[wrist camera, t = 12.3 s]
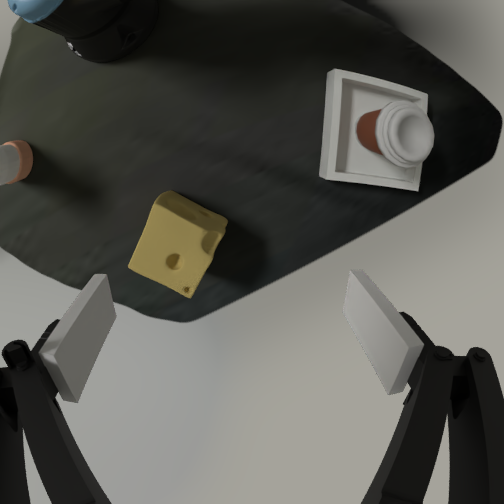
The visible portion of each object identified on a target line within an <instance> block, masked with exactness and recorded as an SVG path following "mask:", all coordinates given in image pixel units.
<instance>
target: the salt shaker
mask: <svg viewBox="0 0 504 504" xmlns="http://www.w3.org/2000/svg"><path fill="white" fill-rule="evenodd" d="M32 165H33V154H32V150H31V148H30V146H29V144H28V143H27V142H25V141H23V140H17V141H11V142H6V143H5V144H3V145H0V185H3V184H5V183H6V184H11V183H14V182H17V181H19V180H22V179H24V178H26V177H27V176H28V175H29V173H30V171H31V169H32Z"/></svg>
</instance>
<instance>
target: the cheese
mask: <svg viewBox="0 0 504 504" xmlns="http://www.w3.org/2000/svg"><path fill="white" fill-rule="evenodd" d="M227 223H228V220H227V219H226V218H225V217H223V216H221V215H219V214H216V213H214V212H212V211H209V210H207V209H205V208H203V207H202V206H200V205H198V204H196V203H194V202H192V201H190V200H189V199H187V198H185V197H183V196H181V195H179V194H178V193H176V192H174V191H172V190H171V191H167V192H164V193H162V194H161V195H159V196H158V198H157V199H156V201H155V202H154V204H153V207H152V209H151V212H150V215H149V218H148V221H147V223H146V226H145V229H144V231H143V233H142V236H141V238H140V240H139V242H138V245H137V247H136V249H135V252H134V254H133V256H132V259H131V261H130V263H129V265H128V267H129V268H130V269H132V270H133V271H135V272H137V273H139V274H141V275H143V276H145V277H148V278H150V279H152V280H154V281H157V282H159V283H161V284H163V285H165V286H167V287H169V288H171V289H173V290H175V291H177V292H179V293H180V294H182V295H184V296H186V297H188V298H191V297H192V295H193V294H194V292H195V290H196V288H197V286H198V284H199V282H200V280H201V279H202V277H203V275H204V273H205V272H206V270H207V268H208V267H209V265H210V263H211V262H212V260H213V257H214V252H215V249H216V247H217V245H218V244H219V242H220V240H221V239H222V237H223V236H224V234H225V227H226V225H227Z"/></svg>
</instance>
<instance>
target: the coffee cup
mask: <svg viewBox="0 0 504 504" xmlns="http://www.w3.org/2000/svg"><path fill="white" fill-rule="evenodd" d="M355 135H356V139H357V141H358V142H359V144H360V145H361V146H362V147H364V148H365V149H367V150H370V151H372V152H375V153H378V154H380V155H383V156H384V157H385V159H387V160H388V161H390V162H391V163H392V164H394V165H395V166H399V167H404V168H411V167H414V166H418V165H419V164H420V163H422V162H423V161H424V160H425V159H426V158H427V156H428V155H429V154H430V152H431V149H432V147H433V144H434V131H433V126H432V124H431V122H430V120H429V118H428V116H427V115H426V114H425V112H424V111H423V110H422V109H421V108H420V107H419V106H417V105H416V104H415V103H412V102H409V101H406V100H399V101H393V102H390V103H389V104H387V105H386V106H385V107H383V108H382V109H379V110H376V111H372V112H367V113H364V114H362V115H361V116H360V117H359V118H358V120H357V122H356V124H355Z"/></svg>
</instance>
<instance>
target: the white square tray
mask: <svg viewBox="0 0 504 504" xmlns="http://www.w3.org/2000/svg"><path fill="white" fill-rule="evenodd" d="M399 100H406V101H409V102H412V103H415V104H416V105H417V106H419V107H420V108H421V109H422V110H423V111H424V112H425V114H426V115H427V103H428V94H426V93H423V92H420V91H417V90H414V89H411V88H408V87H405V86H402V85H399V84H395V83H392V82H389V81H385V80H381V79H378V78H374V77H370V76H366V75H362V74H358V73H353V72H349V71H344V70H339V69H333V70H331V71H329V72H328V73H327V82H326V99H325V114H324V127H323V139H322V151H321V161H320V172H319V176H320V177H322V178H324V179H326V180H336V181H346V182H355V183H363V184H371V185H379V186H386V187H393V188H400V189H407V190H414V191H418V189H419V182H420V176H421V169H422V163H420V164H419V165H418V166H414V167H411V168H404V167H399V166H395V165H394V164H392V163H391V162H390V161H388V160H387V159H385V157H384V156H383V155H380V154H378V153H375V152H372V151H370V150H367V149H365V148H364V147H362V146H361V145H360V144H359V142H358V141H357V139H356V135H355V124H356V122H357V120H358V118H359V117H360V116H361V115H362V114H364V113H367V112H372V111H376V110H379V109H382V108H383V107H385V106H386V105H387V104H389V103H390V102H393V101H399Z"/></svg>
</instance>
